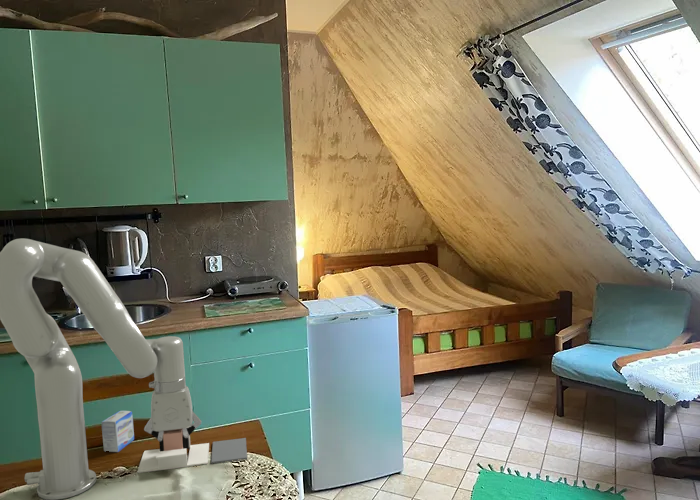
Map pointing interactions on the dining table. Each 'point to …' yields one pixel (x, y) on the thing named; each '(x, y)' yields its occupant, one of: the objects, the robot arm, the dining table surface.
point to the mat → (229, 450)
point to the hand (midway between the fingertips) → (174, 451)
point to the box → (173, 439)
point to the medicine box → (117, 431)
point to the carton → (174, 458)
